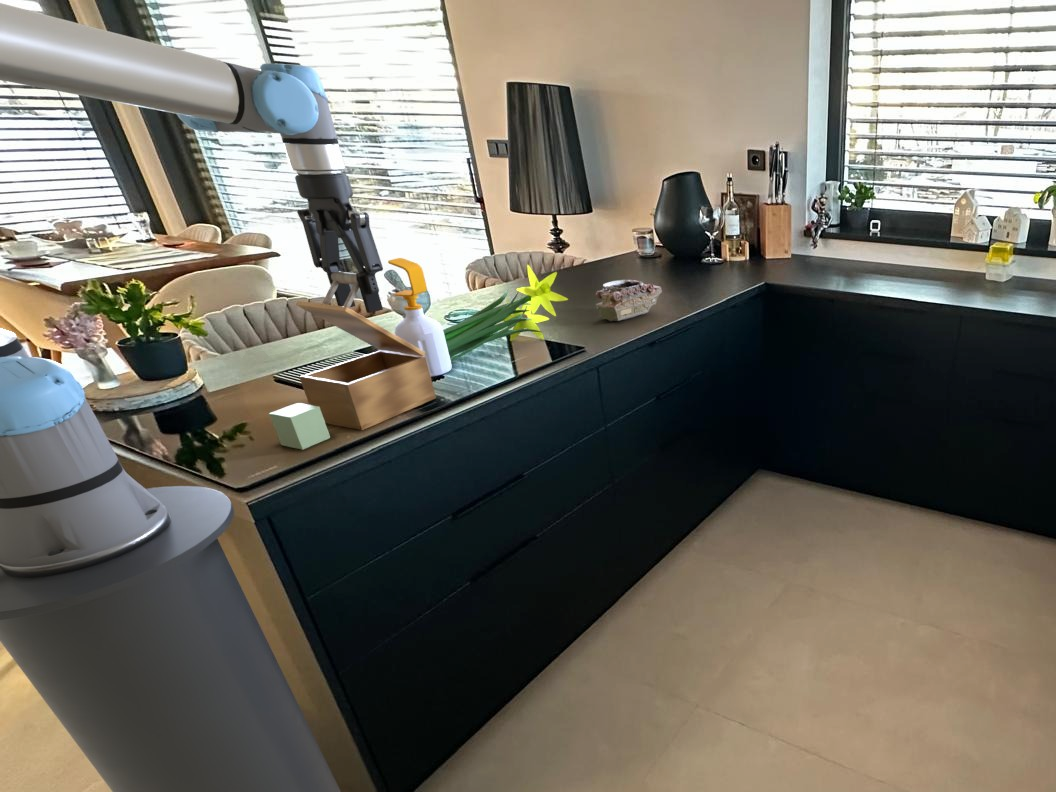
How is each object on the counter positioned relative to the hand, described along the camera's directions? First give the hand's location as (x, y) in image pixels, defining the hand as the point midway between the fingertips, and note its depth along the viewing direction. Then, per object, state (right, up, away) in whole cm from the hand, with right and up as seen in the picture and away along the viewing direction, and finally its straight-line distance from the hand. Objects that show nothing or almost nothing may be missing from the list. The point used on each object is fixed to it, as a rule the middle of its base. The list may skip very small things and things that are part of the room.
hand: (361, 309), depth 115 cm
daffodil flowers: (+6, -1, +41) cm, 42 cm away
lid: (0, -4, +1) cm, 4 cm away
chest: (-1, -18, +7) cm, 19 cm away
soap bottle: (-3, -8, +26) cm, 27 cm away
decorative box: (+29, +15, +73) cm, 80 cm away
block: (-5, -25, -6) cm, 26 cm away
